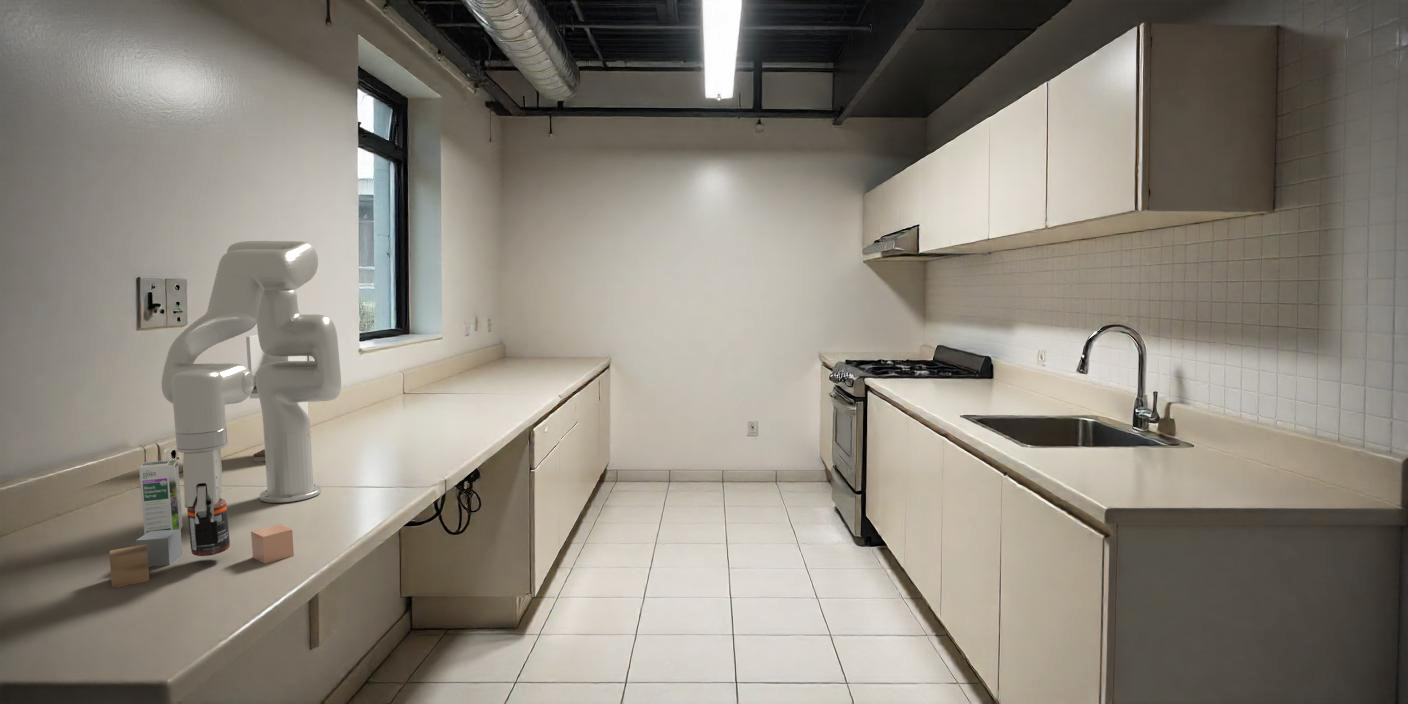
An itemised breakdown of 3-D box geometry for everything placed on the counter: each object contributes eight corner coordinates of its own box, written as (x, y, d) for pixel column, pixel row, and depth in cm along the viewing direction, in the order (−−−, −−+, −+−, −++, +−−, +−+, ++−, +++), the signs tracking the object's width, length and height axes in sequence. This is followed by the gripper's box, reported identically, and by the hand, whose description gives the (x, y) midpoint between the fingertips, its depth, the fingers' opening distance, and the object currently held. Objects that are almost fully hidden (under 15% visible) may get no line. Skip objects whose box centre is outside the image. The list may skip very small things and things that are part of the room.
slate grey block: (151, 557, 139) (149, 531, 139) (182, 555, 140) (180, 529, 140) (137, 567, 134) (135, 540, 134) (169, 565, 135) (167, 538, 135)
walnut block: (112, 579, 129) (110, 550, 129) (148, 572, 132) (146, 544, 132) (112, 588, 125) (109, 559, 125) (149, 581, 128) (147, 552, 128)
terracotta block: (252, 557, 139) (251, 531, 138) (281, 550, 143) (280, 524, 142) (264, 564, 136) (262, 536, 135) (293, 556, 140) (292, 529, 139)
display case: (272, 452, 223) (265, 333, 220) (310, 451, 225) (303, 333, 221) (253, 461, 212) (246, 336, 209) (293, 460, 213) (286, 336, 210)
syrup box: (143, 540, 148) (138, 467, 147) (149, 531, 153) (144, 460, 152) (179, 535, 151) (173, 463, 149) (183, 526, 156) (178, 457, 155)
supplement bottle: (203, 545, 140) (198, 485, 138) (236, 544, 140) (232, 484, 139) (183, 558, 134) (178, 495, 132) (219, 556, 134) (214, 494, 133)
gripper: (183, 432, 140) (191, 526, 142) (168, 453, 125) (177, 558, 127) (231, 428, 144) (238, 520, 146) (222, 448, 128) (229, 550, 131)
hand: (209, 537), depth 137 cm, fingers closed on supplement bottle, 6 cm apart
